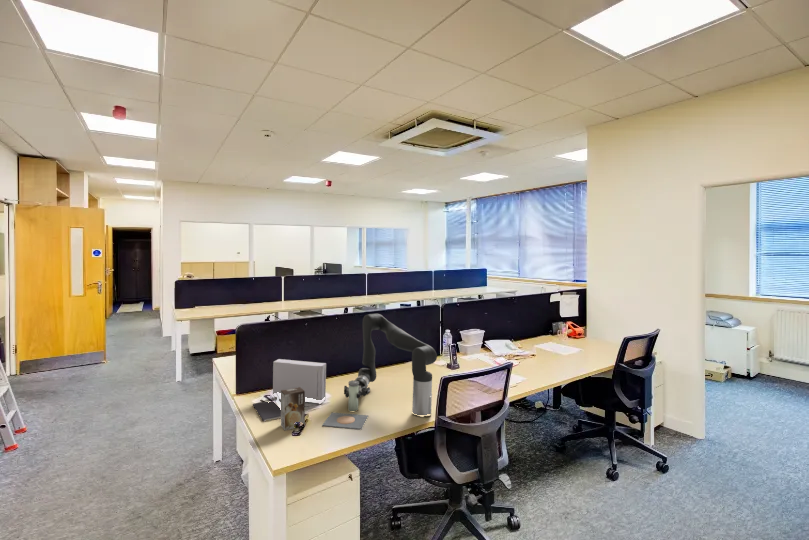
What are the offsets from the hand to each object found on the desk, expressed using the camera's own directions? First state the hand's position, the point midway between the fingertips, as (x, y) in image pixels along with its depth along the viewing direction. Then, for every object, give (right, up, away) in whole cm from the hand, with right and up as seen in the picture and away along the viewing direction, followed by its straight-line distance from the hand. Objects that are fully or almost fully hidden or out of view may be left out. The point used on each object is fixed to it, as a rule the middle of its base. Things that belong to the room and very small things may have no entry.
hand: (352, 396), depth 187 cm
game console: (-30, -7, +14) cm, 33 cm away
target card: (-2, -8, -10) cm, 13 cm away
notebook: (-39, -8, -1) cm, 40 cm away
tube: (0, -8, +3) cm, 8 cm away
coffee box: (-24, -8, -16) cm, 30 cm away
